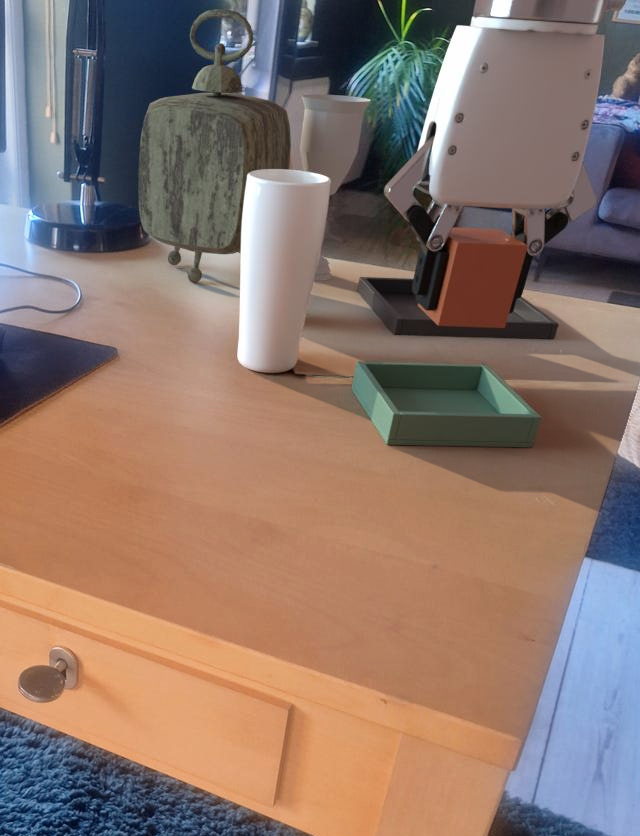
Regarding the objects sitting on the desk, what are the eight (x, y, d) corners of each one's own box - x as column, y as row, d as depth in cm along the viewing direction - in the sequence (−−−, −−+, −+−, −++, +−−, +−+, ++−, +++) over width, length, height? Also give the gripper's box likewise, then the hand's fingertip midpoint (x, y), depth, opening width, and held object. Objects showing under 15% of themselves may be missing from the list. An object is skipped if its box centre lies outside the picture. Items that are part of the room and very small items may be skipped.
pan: (496, 299, 99) (501, 281, 97) (553, 343, 86) (559, 323, 85) (356, 294, 97) (359, 276, 96) (393, 338, 85) (397, 318, 84)
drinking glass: (261, 347, 81) (282, 166, 72) (320, 367, 78) (349, 179, 69) (212, 362, 77) (228, 172, 68) (271, 384, 74) (296, 187, 65)
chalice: (291, 286, 99) (315, 100, 88) (271, 270, 104) (291, 93, 93) (351, 285, 100) (382, 102, 90) (328, 270, 106) (355, 95, 95)
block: (480, 308, 67) (501, 229, 64) (504, 328, 63) (528, 245, 60) (417, 305, 67) (434, 226, 63) (437, 326, 63) (457, 242, 59)
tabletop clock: (276, 282, 100) (308, 14, 85) (240, 299, 94) (268, 13, 79) (167, 260, 106) (180, 5, 91) (127, 275, 99) (133, 4, 84)
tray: (479, 392, 74) (487, 364, 73) (532, 447, 66) (542, 417, 64) (351, 389, 74) (356, 360, 72) (386, 445, 65) (393, 414, 63)
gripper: (640, 9, 57) (552, 296, 68) (387, -7, 56) (338, 288, 67) (704, 12, 51) (596, 326, 62) (422, -6, 50) (362, 318, 61)
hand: (463, 304), depth 64 cm, fingers closed on block, 5 cm apart
